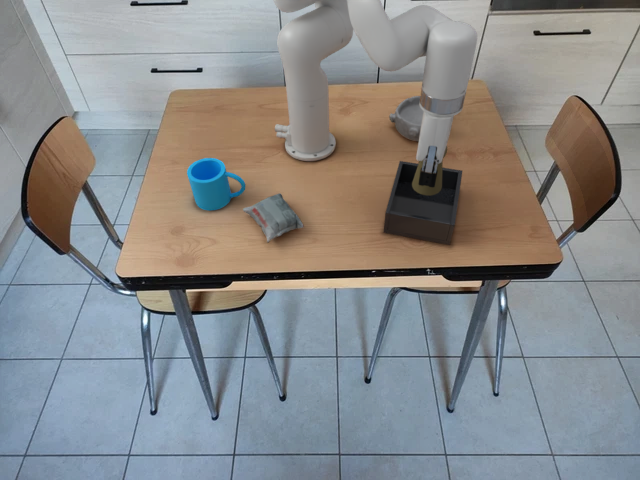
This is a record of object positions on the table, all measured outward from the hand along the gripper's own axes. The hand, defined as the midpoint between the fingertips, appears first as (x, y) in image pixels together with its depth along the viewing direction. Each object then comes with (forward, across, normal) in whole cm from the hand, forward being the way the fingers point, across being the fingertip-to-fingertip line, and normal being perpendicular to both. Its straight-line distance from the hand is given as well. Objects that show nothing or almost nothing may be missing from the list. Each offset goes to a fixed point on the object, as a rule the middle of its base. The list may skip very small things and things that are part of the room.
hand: (428, 176), depth 98 cm
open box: (+10, 0, 0) cm, 10 cm away
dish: (+10, -30, -5) cm, 32 cm away
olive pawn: (+2, 0, 0) cm, 2 cm away
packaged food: (+10, +12, -30) cm, 34 cm away
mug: (+10, +7, -44) cm, 46 cm away
